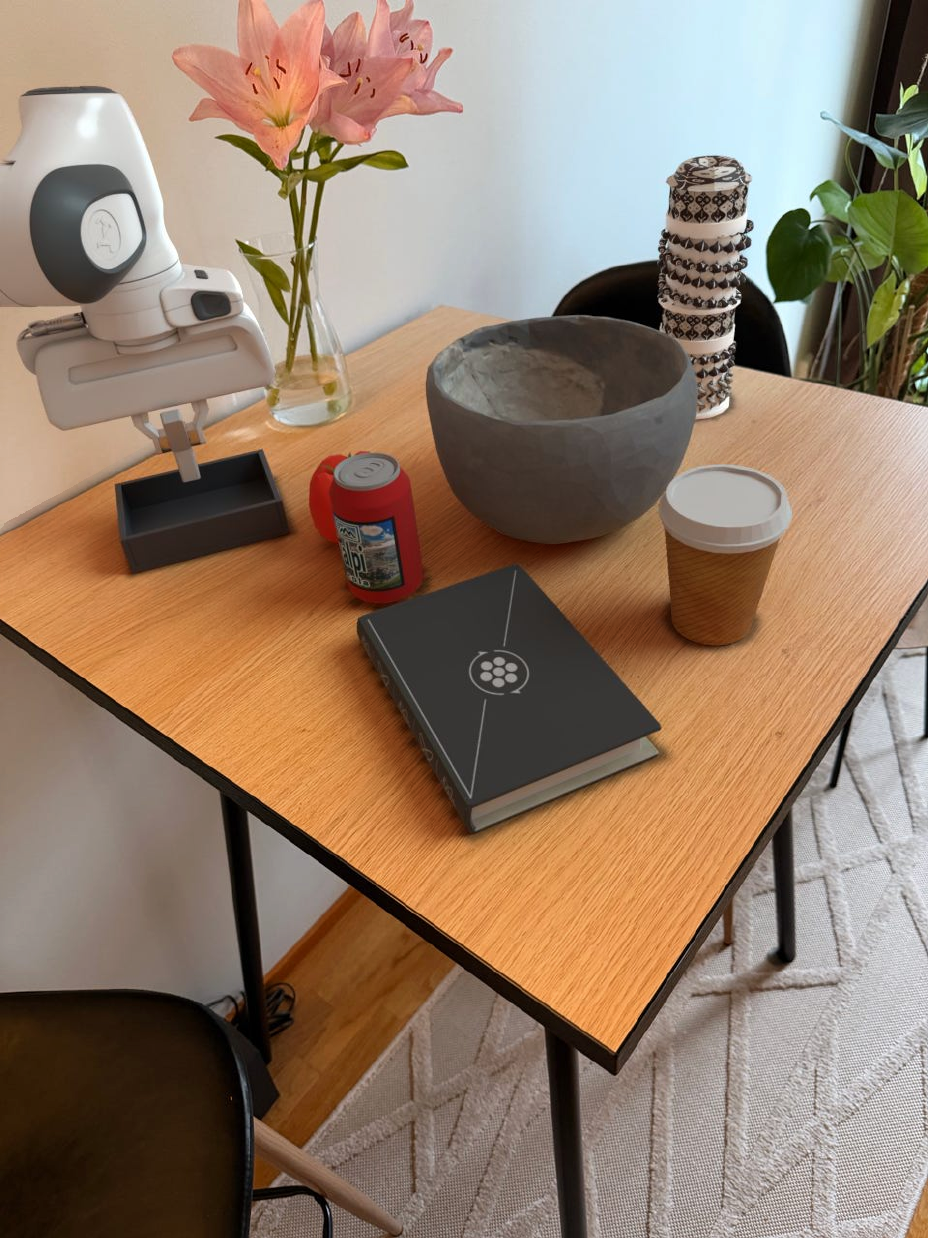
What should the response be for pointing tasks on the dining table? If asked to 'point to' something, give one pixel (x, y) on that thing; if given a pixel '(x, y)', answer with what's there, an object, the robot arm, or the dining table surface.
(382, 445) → the dining table surface
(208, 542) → the tray
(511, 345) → the bowl
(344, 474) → the beverage can
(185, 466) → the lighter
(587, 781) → the book
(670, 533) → the disposable coffee cup
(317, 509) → the tomato
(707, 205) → the patterned white cylinder
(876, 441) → the dining table surface
